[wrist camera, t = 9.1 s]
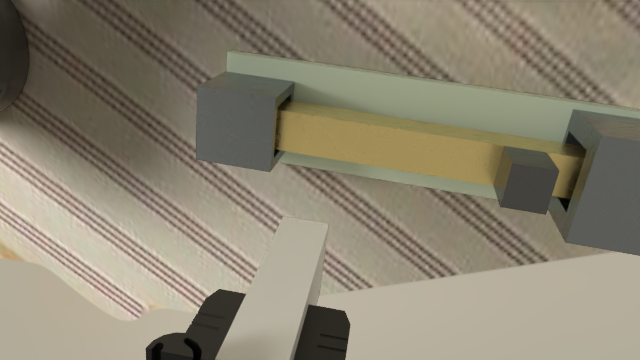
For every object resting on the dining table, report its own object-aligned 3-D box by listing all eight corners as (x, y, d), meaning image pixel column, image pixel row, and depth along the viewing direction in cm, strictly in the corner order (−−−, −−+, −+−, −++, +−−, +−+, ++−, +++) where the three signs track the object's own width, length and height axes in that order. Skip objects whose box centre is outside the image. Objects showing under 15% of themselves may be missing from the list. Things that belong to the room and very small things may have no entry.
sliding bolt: (254, 132, 44) (226, 159, 37) (256, 95, 42) (228, 117, 36) (598, 188, 40) (632, 229, 34) (612, 150, 39) (649, 185, 33)
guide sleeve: (223, 135, 46) (195, 159, 40) (226, 71, 43) (197, 86, 38) (289, 146, 45) (270, 172, 39) (294, 81, 43) (275, 98, 37)
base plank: (227, 148, 48) (223, 152, 46) (231, 50, 44) (226, 52, 43) (600, 211, 43) (604, 217, 42) (637, 108, 40) (643, 112, 39)
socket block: (544, 201, 43) (565, 242, 36) (573, 109, 40) (602, 135, 33) (606, 212, 42) (639, 255, 36) (641, 119, 39) (684, 148, 33)
